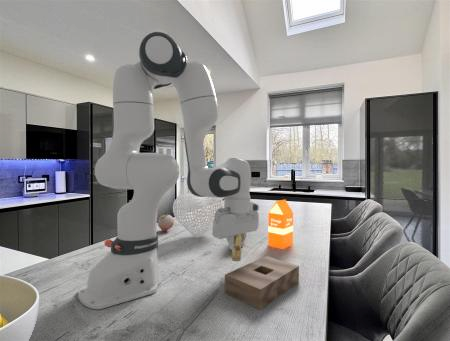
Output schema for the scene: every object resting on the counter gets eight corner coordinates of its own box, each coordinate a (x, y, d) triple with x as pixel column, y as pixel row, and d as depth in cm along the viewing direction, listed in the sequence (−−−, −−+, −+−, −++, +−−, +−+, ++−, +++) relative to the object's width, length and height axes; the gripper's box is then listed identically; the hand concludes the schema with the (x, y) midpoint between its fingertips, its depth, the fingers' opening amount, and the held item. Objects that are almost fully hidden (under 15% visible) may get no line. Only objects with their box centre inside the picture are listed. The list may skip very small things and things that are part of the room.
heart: (187, 247, 107) (188, 196, 107) (165, 240, 117) (165, 193, 117) (229, 234, 128) (229, 191, 128) (207, 229, 138) (207, 189, 138)
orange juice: (293, 244, 112) (293, 200, 112) (283, 249, 106) (283, 202, 105) (277, 240, 118) (278, 198, 117) (267, 245, 111) (268, 200, 111)
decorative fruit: (171, 233, 129) (171, 214, 129) (156, 233, 129) (156, 214, 129) (175, 229, 138) (175, 211, 138) (161, 229, 138) (161, 211, 138)
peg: (236, 262, 82) (237, 231, 82) (229, 259, 84) (230, 229, 84) (242, 259, 84) (243, 230, 84) (235, 257, 86) (236, 228, 86)
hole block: (260, 309, 61) (260, 289, 61) (224, 292, 69) (224, 274, 69) (298, 282, 76) (298, 265, 75) (265, 270, 84) (265, 256, 84)
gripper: (222, 210, 75) (221, 256, 74) (261, 205, 90) (261, 244, 89) (208, 207, 79) (207, 251, 79) (248, 203, 94) (247, 240, 94)
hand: (236, 247), depth 84 cm, fingers closed on peg, 3 cm apart
